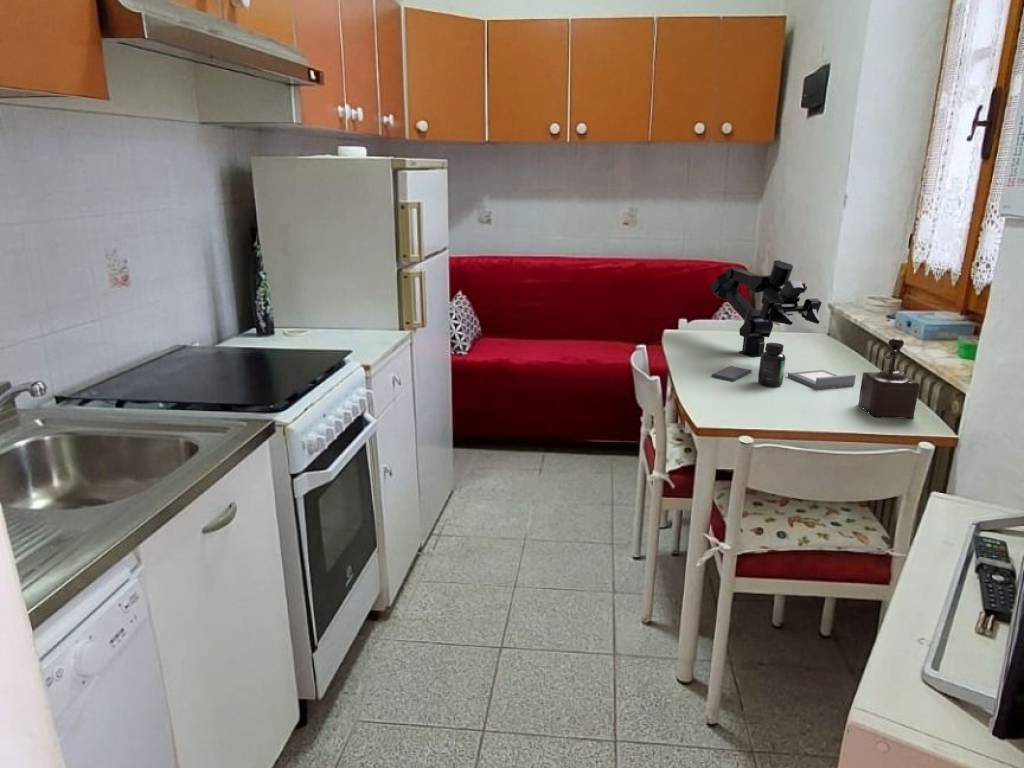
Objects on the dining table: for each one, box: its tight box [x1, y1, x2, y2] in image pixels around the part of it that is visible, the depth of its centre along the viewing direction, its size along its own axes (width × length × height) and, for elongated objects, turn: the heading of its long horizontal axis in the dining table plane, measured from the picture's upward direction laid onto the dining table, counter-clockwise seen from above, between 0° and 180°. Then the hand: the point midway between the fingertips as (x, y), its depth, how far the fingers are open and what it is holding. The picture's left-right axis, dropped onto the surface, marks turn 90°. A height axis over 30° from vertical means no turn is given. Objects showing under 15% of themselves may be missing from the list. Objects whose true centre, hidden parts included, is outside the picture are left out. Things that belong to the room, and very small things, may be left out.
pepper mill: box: [858, 337, 920, 419], centre depth 185 cm, size 16×11×18 cm
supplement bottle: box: [757, 342, 787, 388], centre depth 205 cm, size 7×7×12 cm
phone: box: [711, 365, 753, 382], centre depth 216 cm, size 7×13×1 cm, turn 139°
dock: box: [787, 369, 857, 390], centre depth 210 cm, size 13×13×3 cm
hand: (805, 323), depth 211 cm, fingers open, 9 cm apart
